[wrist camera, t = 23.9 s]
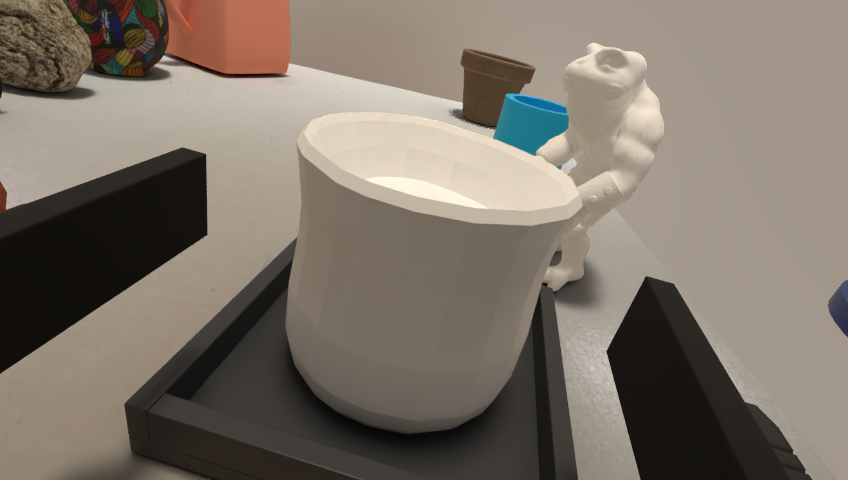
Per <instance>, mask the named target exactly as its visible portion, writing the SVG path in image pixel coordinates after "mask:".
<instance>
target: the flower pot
mask: <svg viewBox="0 0 848 480" xmlns="http://www.w3.org/2000/svg"><path fill="white" fill-rule="evenodd" d="M461 65H462V66H463V67H464V91H463V116H464V117H465V118H466V119H468V120H470V121H473V122H476V123H479V124H483V125H487V126H497V124H498V121H499V117H500V114H501V110H502V107H503V103H504V100H505V96H506V94H519V93H520V91H521V90H522V88H523V87H524V85H525V84H528V83H530V82H531V79H532V77H533V74H534V72H535V67H533V66H531V65H529V64H526V63H523V62H520V61H517V60H513V59H510V58H506V57H502V56H499V55H494V54H490V53H486V52H482V51H477V50H472V49H464V51H463V55H462V59H461Z"/></svg>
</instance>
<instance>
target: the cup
mask: <svg viewBox="0 0 848 480" xmlns="http://www.w3.org/2000/svg"><path fill="white" fill-rule="evenodd" d="M296 144H297V149H298V157H299V169H300V184H301V200H302V202H301V213H300V225H299V231H298V237H297V242H296V248H295V253H294V259H293V264H292V269H291V274H290V279H289V287H288V299H287V311H286V324H285V328H286V332H287V337H288V341H289V345H290V349H291V353H292V357H293V361H294V365H295V367H296V368H297V370H298V371H299V372H300V374H301V375H302V377H303V378H304V380H305V381H306V383H307V384H308V386H309V387H310V388H311V390H312V391H313V393H314V394H315V395H316V396H317V397H318V398H319V399H320V400H322V401H323V402H324V403H326V404H327V405H328V406H330V407H331V408H332V409H333V410H335V411H336V412H337V413H339V414H341V415H344V416H346V417H348V418H350V419H352V420H355V421H357V422H359V423H361V424H363V425H366V426H368V427H373V428H378V429H382V430H387V431H392V432H397V433H401V434H415V433H424V432H433V431H442V430H449V429H453V428H455V427H457V426H459V425H461V424H463V423H465V422H466V421H468V420H470V419H472V418H474V417H476V416H478V415H480V414H482V413H483V411H484V410H485V409H486V408H487V407H488V406H489V405H490V404H491V403H492V402H493V400H494V399H495V398H496V396H497V395H498V394H499V392H500V391H501V389H502V388H503V387H504V385H505V384H506V383H507V381H508V380H509V379H510V377H511V375H512V373H513V370H514V368H515V365H516V363H517V360H518V358H519V355H520V353H521V351H522V348H523V346H524V343H525V341H526V338H527V336H528V333H529V329H530V325H531V321H532V317H533V314H534V310H535V306H536V303H537V299H538V296H539V292H540V289H541V285H542V282H543V279H544V277H545V274H546V272H547V269H548V267H549V264H550V262H551V259H552V257H553V255H554V253H555V251H556V249H557V247H558V245H559V243H560V242H561V240H562V238H563V236H564V234H565V232H566V230H567V228H568V227H569V225H570V224H571V222H572V220H573V219H574V217H575V216H576V214H577V213H578V212H579V210H580V209H581V208H582V207H583V204H582V201H581V197H580V194H579V192H578V190H577V188H576V186H575V184H574V182H573V180H572V178H571V177H569V176H568V175H566V174H565V173H564V172H562V171H561V170H559V169H558V168H556V167H555V166H554V165H552V164H550V163H548V162H546V161H544V160H542V159H540V158H537V157H535V156H533V155H531V154H529V153H527V152H525V151H522V150H520V149H518V148H515V147H513V146H510V145H508V144H506V143H503V142H501V141H498V140H495V139H492V138H489V137H486V136H483V135H480V134H477V133H474V132H471V131H468V130H465V129H462V128H459V127H456V126H453V125H450V124H447V123H444V122H440V121H436V120H432V119H427V118H422V117H417V116H413V115H406V114H395V113H383V112H350V113H332V114H328V115H325V116H322V117H320V118H317V119H314V120H311V121H310V122H309V123H308V125H307V126H306V127H305V128H304V130H303V131H302V133H301V134H300V136H299V138H298V139H297V141H296Z"/></svg>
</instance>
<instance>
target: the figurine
mask: <svg viewBox="0 0 848 480" xmlns="http://www.w3.org/2000/svg"><path fill="white" fill-rule="evenodd" d="M586 50H587V56H585V57H582V58H580V59H577V60H575V61H573V62H572V63H570V64H569V65H568V66H567V67H566V69H565V70H564V74H565V76H564V77H563V86H564V90H565V91H566V92H568V99H567V103H566V110H567V113H568V117H569V127H568V129H567V130H566V131H565V132H564V133H562V134H560V135H559V136H556V137H554V138H552V139H550V140H548V142H547V143H546V144H545V145H544V146H541V147H540V148H539V149H538V150H537V151H536V155H537V156H535V157H537V158H540V159H542V160H544V161H546V162H548V163H550V164H552V165H554V166H555V167H557V166H560V165H563V164H565V163H566V162H568V161H569V160H570V159H571V158H572V157H573V156H574V155H575V154H576V153H577V152H578V151H580V150H581V149H583V150H584V154H583V155H582V156H581V157H580V158H579V160H578V162H577V165H576V166H575V167H574V168H572V169H571V171H570V173H569V174H568V176H569V177H571V178H572V180H573V182H574V184H575V186H576V188H577V190H578V192H579V194H580V197H581V201H582V204H583V207H582V208H581V209H580V210H579V212H578V213H577V214H576V216H575V217H574V219H573V220H572V222H571V224H570V225H569V227H568V228H567V230H566V232H565V234H564V236H563V238H562V240H561V242H560V243H559V245H558V247H557V249H556V251H562V260H561V262H560V263H559V264H558V265H556V266H549V267H548V269H547V272H546V274H545V277H544V279H543V283H546V284H548V285H547V287H550V288H552V289H553V292H554V291H557V290H559V289H560V288H561V287H562V286H563V285H564V284H565V283H566V282H567V281H574V280H578V279H580V278H582V277H583V275H584V267H583V260H584V258H585V256H586V254H587V252H588V251H589V248H590V241H589V238H588V237H587V235H586V234H585V232H586V231H587V229H588V228H589V227H591V226H592V225H593V224H594V223H595V222H597V221H598V220H599V219H600V218H602V217H603V216H604V215H605V214H607V213H608V212H609V211H610V210H611V209H613V208H614V207H616V206H618V205H620V204H622V203H624V202H625V201H627V200H628V199H629V198H630V197H631V195H632V193H633V192H634V191H635V189H636V188H637V186H638V185H639V183H640V182H641V181H642V180H643V178H644V177H645V175H646V174H647V172H648V171H649V169H650V167H651V165H652V163H653V159H654V154H655V151H656V149H657V147H658V146H659V144H660V142H661V141H662V139H663V136H664V130H665V129H664V122H663V118H662V115H661V114H660V102H659V100H658V98H657V96H656V95H655V94H654V93H653V92H652V91H651V90H650V89H649V88H648V86H647V84H646V81H645V74H646V71H647V63H646V60H645V59H644V57H643V56H642V55H641V54H639V53H637V52H634V51H623V50H621V49H618V48H612V47H608V48H606V47H604V46H600V45H599V44H597V43H591V44H589V45H588V46H587V49H586Z"/></svg>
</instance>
